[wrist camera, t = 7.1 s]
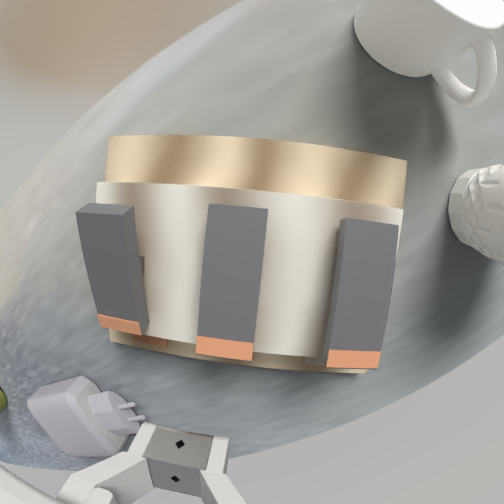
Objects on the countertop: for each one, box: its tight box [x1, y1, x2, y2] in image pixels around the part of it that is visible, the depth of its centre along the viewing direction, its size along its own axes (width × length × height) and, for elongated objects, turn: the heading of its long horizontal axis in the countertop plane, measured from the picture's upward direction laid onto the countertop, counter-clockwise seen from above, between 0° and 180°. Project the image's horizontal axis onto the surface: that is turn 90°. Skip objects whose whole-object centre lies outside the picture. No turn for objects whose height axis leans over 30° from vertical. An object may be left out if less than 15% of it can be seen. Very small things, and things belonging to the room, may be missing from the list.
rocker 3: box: [322, 218, 399, 369], centre depth 16 cm, size 3×8×2 cm, turn 175°
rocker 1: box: [76, 203, 149, 335], centre depth 16 cm, size 3×8×2 cm, turn 175°
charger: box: [27, 375, 146, 457], centre depth 26 cm, size 5×9×15 cm
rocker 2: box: [196, 204, 268, 362], centre depth 16 cm, size 3×8×2 cm, turn 175°
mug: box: [354, 0, 504, 107], centre depth 13 cm, size 8×10×12 cm
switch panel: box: [96, 135, 407, 373], centre depth 20 cm, size 22×17×6 cm
